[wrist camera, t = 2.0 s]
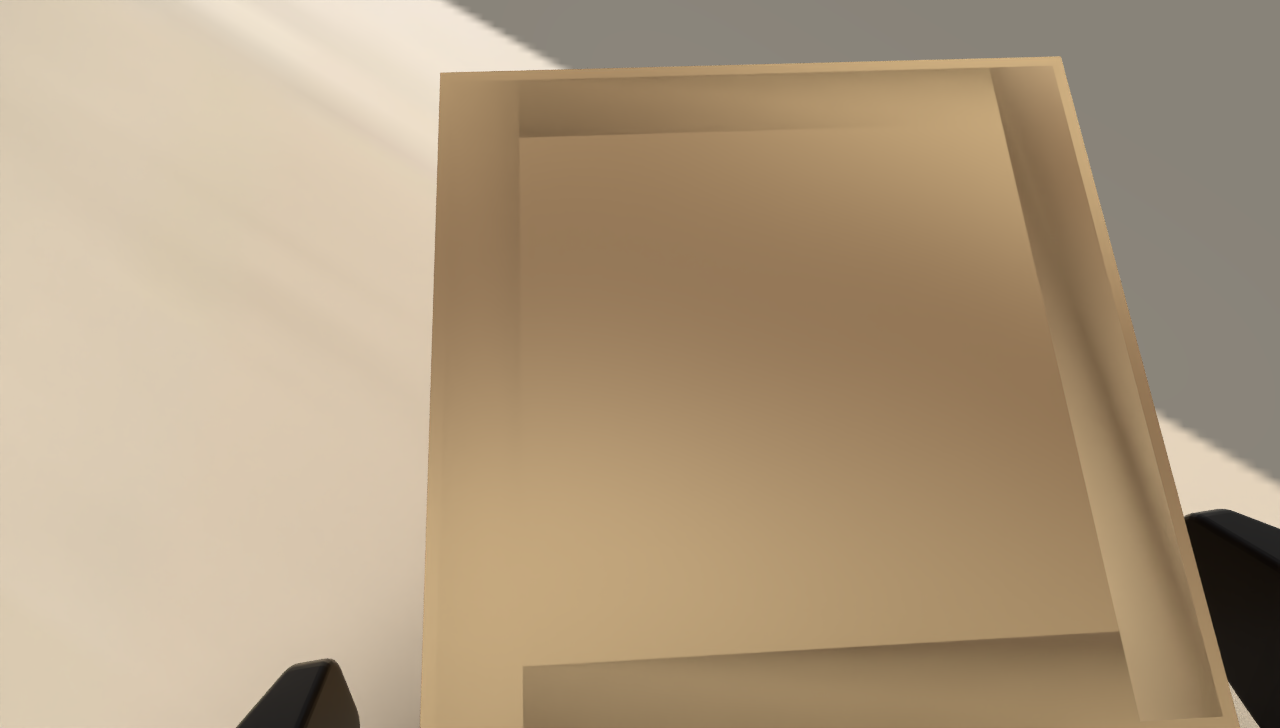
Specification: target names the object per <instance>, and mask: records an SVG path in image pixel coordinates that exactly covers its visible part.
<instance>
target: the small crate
mask: <svg viewBox="0 0 1280 728" xmlns="http://www.w3.org/2000/svg"><path fill="white" fill-rule="evenodd" d="M420 728H1240V725H1239V722H1238V718H1237V714H1236V711H1235V707H1234V703H1233V699H1232V696H1231V692H1230V688H1229V684H1228V681H1227V677H1226V673H1225V669H1224V666H1223V662H1222V658H1221V654H1220V651H1219V647H1218V643H1217V639H1216V636H1215V632H1214V628H1213V624H1212V621H1211V617H1210V613H1209V609H1208V606H1207V602H1206V598H1205V594H1204V591H1203V587H1202V583H1201V580H1200V576H1199V572H1198V568H1197V565H1196V561H1195V557H1194V553H1193V550H1192V546H1191V542H1190V538H1189V535H1188V531H1187V527H1186V523H1185V520H1184V516H1183V512H1182V508H1181V505H1180V501H1179V497H1178V493H1177V490H1176V486H1175V482H1174V478H1173V475H1172V471H1171V467H1170V464H1169V460H1168V456H1167V452H1166V449H1165V445H1164V441H1163V437H1162V434H1161V430H1160V426H1159V422H1158V419H1157V415H1156V411H1155V407H1154V404H1153V400H1152V396H1151V392H1150V389H1149V385H1148V381H1147V377H1146V374H1145V370H1144V366H1143V362H1142V359H1141V355H1140V351H1139V348H1138V344H1137V340H1136V336H1135V333H1134V329H1133V325H1132V321H1131V318H1130V314H1129V310H1128V306H1127V303H1126V299H1125V295H1124V291H1123V288H1122V284H1121V280H1120V277H1119V273H1118V269H1117V265H1116V262H1115V258H1114V254H1113V250H1112V246H1111V243H1110V239H1109V235H1108V231H1107V228H1106V224H1105V220H1104V216H1103V213H1102V209H1101V205H1100V202H1099V198H1098V194H1097V191H1096V187H1095V183H1094V179H1093V175H1092V172H1091V168H1090V165H1089V161H1088V157H1087V153H1086V149H1085V145H1084V142H1083V138H1082V134H1081V131H1080V127H1079V123H1078V119H1077V115H1076V112H1075V108H1074V104H1073V100H1072V97H1071V93H1070V89H1069V85H1068V82H1067V78H1066V74H1065V71H1064V67H1063V63H1062V59H1061V57H1026V58H985V59H949V60H910V61H871V62H833V63H797V64H796V63H795V64H759V65H757V64H756V65H719V66H681V67H643V68H607V69H605V68H604V69H565V70H527V71H489V72H451V73H440V102H439V134H438V166H437V198H436V230H435V262H434V294H433V326H432V358H431V390H430V422H429V454H428V486H427V518H426V550H425V582H424V614H423V646H422V678H421V710H420Z"/></svg>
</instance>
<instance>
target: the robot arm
mask: <svg viewBox="0 0 1280 728" xmlns="http://www.w3.org/2000/svg"><path fill="white" fill-rule="evenodd" d="M1184 520H1185V523H1186V527H1187V531H1188V535H1189V538H1190V542H1191V546H1192V550H1193V553H1194V557H1195V561H1196V565H1197V568H1198V572H1199V576H1200V580H1201V583H1202V587H1203V591H1204V594H1205V598H1206V602H1207V606H1208V609H1209V613H1210V617H1211V621H1212V624H1213V628H1214V632H1215V636H1216V639H1217V643H1218V647H1219V651H1220V654H1221V658H1222V662H1223V666H1224V669H1225V673H1226V677H1227V680H1228V682H1229V683H1230V685H1231V686H1232V688H1233V689H1234V691H1235V692H1236V694H1237V695H1238V697H1239V698H1240V700H1241V701H1242V703H1243V704H1244V706H1245V707H1246V709H1247V710H1248V711H1249V713H1250V714H1251V716H1252V717H1253V719H1254V720H1255V721H1256V723H1257V724H1258V726H1259V727H1260V728H1280V529H1279V528H1276V527H1273V526H1271V525H1268V524H1266V523H1263V522H1260V521H1258V520H1255V519H1252V518H1250V517H1247V516H1245V515H1242V514H1239V513H1237V512H1234V511H1231V510H1226V509H1215V510H1209V511H1203V512H1197V513H1191V514H1188V515H1186V516H1185V517H1184ZM236 728H360V722H359V715H358V711H357V708H356V706H355V703H354V701H353V698H352V696H351V693H350V691H349V688H348V686H347V683H346V681H345V678H344V676H343V673H342V671H341V668H340V667H339V665H338V663H337V662H336V661H335V660H333V659H328V658H327V659H321V660H315V661H309V662H303V663H298V664H295V665H292V666H291V667H289V668H288V669H287V670H286V671H285V672H284V673H283V674H282V675H281V676H280V677H279V679H278V680H277V681H276V682H275V683H274V684H273V685H272V687H271V688H270V689H269V690H268V691H267V692H266V694H265V695H264V696H263V697H262V698H261V699H260V701H259V702H258V703H257V704H256V705H255V706H254V707H253V709H252V710H251V711H250V712H249V713H248V714H247V716H246V717H245V718H244V719H243V720H242V721H241V722H240V724H239V725H238V726H237V727H236Z"/></svg>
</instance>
